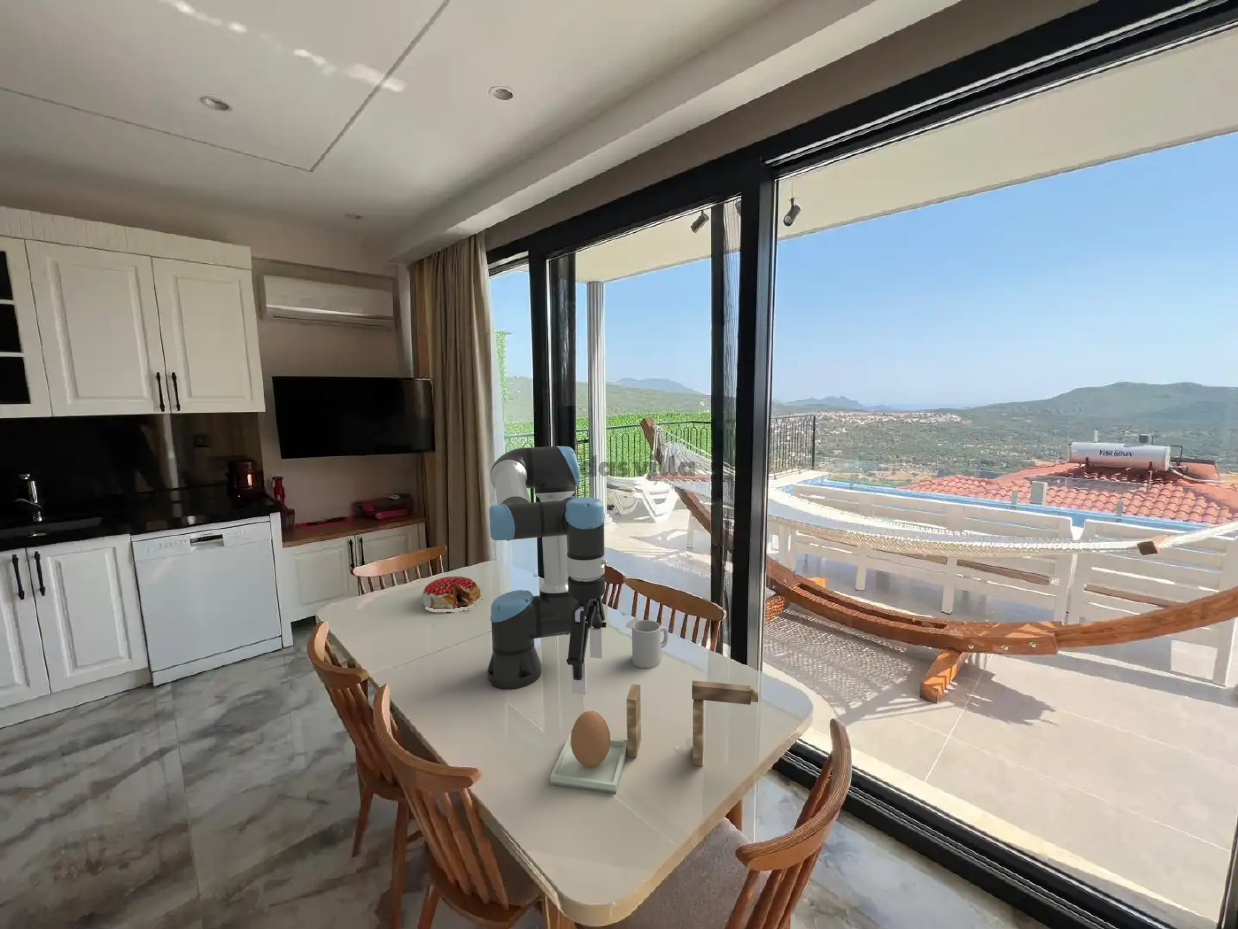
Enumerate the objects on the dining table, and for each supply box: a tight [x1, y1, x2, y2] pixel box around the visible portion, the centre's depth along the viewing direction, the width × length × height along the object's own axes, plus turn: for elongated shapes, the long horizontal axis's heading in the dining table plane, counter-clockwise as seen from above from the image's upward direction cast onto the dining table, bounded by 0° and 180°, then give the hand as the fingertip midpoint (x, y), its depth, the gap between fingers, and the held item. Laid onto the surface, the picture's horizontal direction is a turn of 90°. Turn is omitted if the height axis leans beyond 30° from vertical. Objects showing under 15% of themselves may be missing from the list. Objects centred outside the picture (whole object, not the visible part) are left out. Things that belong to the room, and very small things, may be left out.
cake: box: [421, 575, 482, 609], centre depth 196 cm, size 23×24×10 cm
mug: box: [631, 619, 669, 669], centre depth 150 cm, size 12×8×11 cm
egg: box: [570, 710, 611, 767], centre depth 106 cm, size 8×8×11 cm
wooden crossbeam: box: [691, 680, 759, 706], centre depth 106 cm, size 14×2×3 cm, turn 78°
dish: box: [549, 733, 627, 794], centre depth 106 cm, size 13×13×2 cm
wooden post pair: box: [626, 683, 705, 767], centre depth 109 cm, size 16×6×13 cm, turn 78°
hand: (588, 674), depth 104 cm, fingers open, 13 cm apart
